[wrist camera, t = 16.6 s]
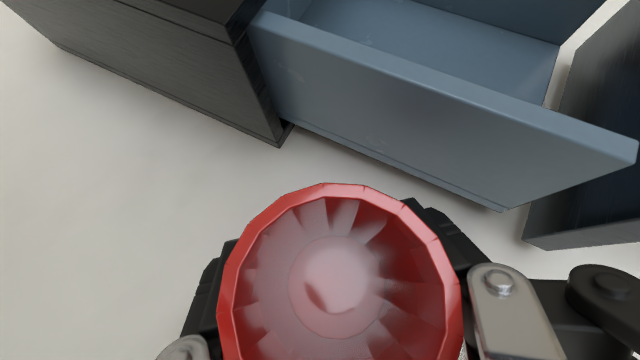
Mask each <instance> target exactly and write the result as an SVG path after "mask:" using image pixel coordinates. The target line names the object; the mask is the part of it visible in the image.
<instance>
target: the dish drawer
mask: <svg viewBox="0 0 640 360" xmlns="http://www.w3.org/2000/svg"><path fill="white" fill-rule="evenodd" d="M605 1H606V0H267V1H266V2H265V4H264V5H263V6H262V8H261V9H260V10H259V12H258V13H257V14H256V16H255V17H254V18H253V20H252V21H251V22H250V24H249V25H248V26H247V28H246V29H245V30H246V31H247V33H248V36H249V39H250V41H251V44H252V47H253V50H254V52H255V55H256V58H257V60H258V63H259V66H260V69H261V71H262V74H263V77H264V79H265V82H266V85H267V88H268V90H269V93H270V96H271V98H272V101H273V104H274V107H275V109H276V112H277V115H278V117H280V118H282V119H284V120H287V121H289V122H291V123H294V124H296V125H298V126H301V127H303V128H305V129H308V130H310V131H312V132H314V133H317V134H319V135H321V136H324V137H326V138H328V139H331V140H333V141H335V142H338V143H340V144H342V145H344V146H347V147H349V148H351V149H354V150H356V151H358V152H361V153H363V154H365V155H368V156H370V157H372V158H374V159H377V160H379V161H381V162H384V163H386V164H388V165H391V166H393V167H395V168H398V169H400V170H402V171H404V172H407V173H409V174H411V175H414V176H416V177H418V178H421V179H423V180H425V181H428V182H430V183H432V184H435V185H437V186H439V187H441V188H444V189H446V190H448V191H451V192H453V193H455V194H458V195H460V196H462V197H465V198H467V199H469V200H471V201H474V202H476V203H478V204H481V205H483V206H485V207H488V208H490V209H492V210H495V211H497V212H499V213H501V212H504V211H507V210H509V209H512V208H515V207H517V206H520V205H523V204H526V203H529V202H531V201H532V204H531V207H530V211H529V214H528V218H527V221H526V225H525V228H524V232H523V235H522V238H521V239H522V240H523V241H525V242H527V243H530V244H532V245H534V246H536V247H539V248H541V249H543V250H545V251H552V250H562V249H572V248H582V247H592V246H602V245H612V244H622V243H632V242H640V0H630V1H629V2H628V3H627V4H625V5H624V6H623V7H622V8H621V9H620V10H619V11H618V12H617V13H616V14H615V15H614V16H612V17H611V18H610V19H609V20H608V21H607V22H606V23H605V24H604V25H603V26H602V27H601V28H599V29H598V30H597V31H596V32H595V33H594V34H593V35H592V36H591V37H590V38H589V39H588V40H586V41H585V42H584V43H583V44H582V45H581V46H580V47H579V48H578V49H577V50H576V51H575V55H574V58H573V62H572V65H571V69H570V72H569V76H568V79H567V83H566V86H565V90H564V93H563V96H562V100H561V103H560V107H559V110H558V112H555V111H552V110H550V109H547V108H544V107H542V104H543V101H544V98H545V94H546V91H547V88H548V85H549V82H550V78H551V75H552V72H553V69H554V65H555V62H556V59H557V56H558V53H559V49H560V46H561V45H562V44H563V43H564V42H565V41H566V40H567V39H568V38H569V37H570V36H571V35H572V34H573V33H574V32H575V31H576V30H577V29H578V28H579V27H580V26H581V25H582V24H583V23H584V22H585V21H586V20H587V19H588V18H589V17H590V16H591V15H592V14H593V13H594V12H595V11H596V10H597V9H598V8H599V7H600V6H601V5H602V4H603V3H604V2H605Z"/></svg>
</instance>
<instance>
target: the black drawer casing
mask: <svg viewBox="0 0 640 360" xmlns="http://www.w3.org/2000/svg"><path fill="white" fill-rule="evenodd" d="M0 1H2V2H3V3H4V4H5V5H7V6H8V7H9V8H10V9H12V10H13V11H14V12H15V13H17V14H18V15H19V16H20V17H21V18H23V19H24V20H25V21H26V22H28V23H29V24H30V25H31V26H33V27H34V28H35V29H36V30H37V31H39V32H40V33H41V34H42V35H44V36H45V37H46V38H48V39H49V40H50V41H51V42H52V43H54V44H55V45H56V46H57V47H59V48H61V49H63V50H66V51H68V52H70V53H72V54H74V55H77V56H79V57H81V58H83V59H85V60H87V61H90V62H92V63H94V64H96V65H98V66H101V67H103V68H105V69H107V70H109V71H111V72H114V73H116V74H118V75H120V76H122V77H125V78H127V79H129V80H131V81H133V82H135V83H138V84H140V85H142V86H144V87H146V88H149V89H151V90H153V91H155V92H157V93H159V94H162V95H164V96H166V97H168V98H170V99H173V100H175V101H177V102H179V103H181V104H183V105H186V106H188V107H190V108H192V109H194V110H197V111H199V112H201V113H203V114H205V115H207V116H210V117H212V118H214V119H216V120H218V121H221V122H223V123H225V124H227V125H229V126H231V127H234V128H236V129H238V130H240V131H242V132H245V133H247V134H249V135H251V136H253V137H255V138H258V139H260V140H262V141H264V142H266V143H269V144H271V145H273V146H275V147H277V148H281V146H282V144H283V143H284V141H285V139H286V138H287V136H288V134H289V133H290V131H291V129H292V128H293V126H294V123H291V122H289V121H287V120H284V119H282V118H280V117H278V115H277V112H276V109H275V107H274V104H273V101H272V98H271V96H270V93H269V90H268V88H267V85H266V82H265V79H264V77H263V74H262V71H261V69H260V66H259V63H258V60H257V58H256V55H255V52H254V50H253V47H252V44H251V41H250V39H249V36H248V33H247V31H246V30H245V29H246V28H247V26H248V25H249V24H250V22H251V21H252V20H253V18H254V17H255V16H256V14H257V13H258V12H259V10H260V9H261V8H262V6H263V5H264V4H265V2H266V1H267V0H0Z"/></svg>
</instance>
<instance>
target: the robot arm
mask: <svg viewBox="0 0 640 360" xmlns="http://www.w3.org/2000/svg"><path fill="white" fill-rule="evenodd" d="M400 201H401V202H403V203H404V204H406V205H407V206H408V207H409V208H410V209H411V210H412V211H413V212H414V213H415V214H416V215H417V216H418V217H419V218H420V219H421V220H422V221H423V222H424V223H425V224H426V225H427V226H428V227H429V228H430V229H431V230H432V231H433V232H434V233H435V234H436V235H437V236H438V238H439V239H440V241H441V243H442V245H443V247H444V249H445V252H446V254H447V256H448V258H449V260H450V262H451V265H452V267H453V269H454V271H455V273H456V275H457V278H458V280H459V284H460V287H461V300H462V313H463V326H464V337H463V338H464V341H463V348H464V353H465V359H466V360H638V359H637V358H635V357H634V356H632V355H633V353H634V351H635V352H636V353H637V354H639V355H640V279H638V278H636V277H634V276H632V275H630V274H628V273H626V272H624V271H621V270H618V269H615V268H612V267H608V266H604V265H597V264H584V265H579V266H577V267H575V268H573V269H572V270H571V271H570V274H569V277H568V280H539V279H527V278H526V277H525V276H524V275H523V274H522V273H520V272H519V271H517V270H515V269H513V268H511V267H509V266H506V265H503V264H498V263H493V262H492V261H491V260H490V259H489V258H488V257H487V256H486V255H485V254H484V253H483V252H482V251H481V250H480V249H479V248H478V247H477V246H476V245H475V244H474V243H473V242H472V241H471V240H470V239H469V238H468V237H467V236H466V235H465V234H464V233H463V232H461V230H460V229H459V228H458V227H457V226H456V225H455V224H453V222H452V221H451V220H450V219H449V218H448V217H447V216H446V215H445V214H444V213H442V212H440V211H438V210H436V209H434V208H432V207H429V208H425V209H424V208H423V207H422V206H421V205H420V204H419V203H418V202H417V201H416V199H415V198H413V197H412V198H408V199H404V200H400ZM238 240H239V238H238V239H234V240H230V241H226V242H225V243H224V246H223V249H222V253H221V256H220V257H219V258H214V259H213V260H212V261H211V262H210V263H209V265H208V266H207V267H206V268H205V270H204V271H203V274H202V277H201V279H200V282H199V286H198V288H197V291H196V293H195V294H196V296H194V299H193V302H192V304H191V307H190V310H189V313H188V315H187V318H186V321H185V324H184V326H183V329H182V332H181V335H180V338H179V339H177V340H176V341H174V342H173V343H171V344H170V345H169V346H167V347H166V348H165V349H164V350H163V351H162V352H161V353H160V354H159V356H158V357H157V358H156V360H224V359H223V353H222V347H221V342H220V336H219V330H218V324H217V319H216V314H217V313H216V308H217V303H218V297H219V292H220V286H221V281H222V275H223V270H224V265H225V264H226V260H227V259H228V257H229V255H230V254H231V252H232V250H233V248H234V247H235V245H236V243H237V242H238Z"/></svg>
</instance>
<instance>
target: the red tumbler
mask: <svg viewBox="0 0 640 360" xmlns="http://www.w3.org/2000/svg"><path fill="white" fill-rule="evenodd" d="M216 313H217V314H216V319H217V324H218V330H219V336H220V342H221V347H222V353H223V359H224V360H458V357H459V354H460V351H461V347H462V344H463V341H464V338H463V337H464V326H463V313H462V300H461V287H460V284H459V280H458V278H457V275H456V273H455V271H454V269H453V267H452V265H451V262H450V260H449V258H448V256H447V254H446V252H445V249H444V247H443V245H442V243H441V241H440V239H439V238H438V236H437V235H436V234H435V233H434V232H433V231H432V230H431V229H430V228H429V227H428V226H427V225H426V224H425V223H424V222H423V221H422V220H421V219H420V218H419V217H418V216H417V215H416V214H415V213H414V212H413V211H412V210H411V209H410V208H409V207H408V206H407V205H406V204H404V203H403V202H401V201H399V200H397V199H395V198H392V197H390V196H388V195H386V194H384V193H381V192H379V191H377V190H375V189H373V188H370V187H368V186H364V185H357V184H341V183H319V184H316V185H313V186H310V187H307V188H304V189H301V190H298V191H295V192H291V193H288V194H285V195H283V196H281V197H280V198H279V199H277V200H276V201H275V202H274V203H272V204H271V205H270V206H269V207H268V208H266V209H265V210H264V211H263V212H261V213H260V214H259V215H258V216H256V217H255V218H254V219H253V220H252V221H250V223H249V224H248V225H247V226H246V228H245V230H244V231H243V233H242V235H241V237H240V238H239V240H238V242H237V243H236V245H235V247H234V248H233V250H232V252H231V254H230V255H229V257H228V259H227V260H226V264H225V265H224V270H223V275H222V281H221V286H220V292H219V297H218V303H217V308H216Z"/></svg>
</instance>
